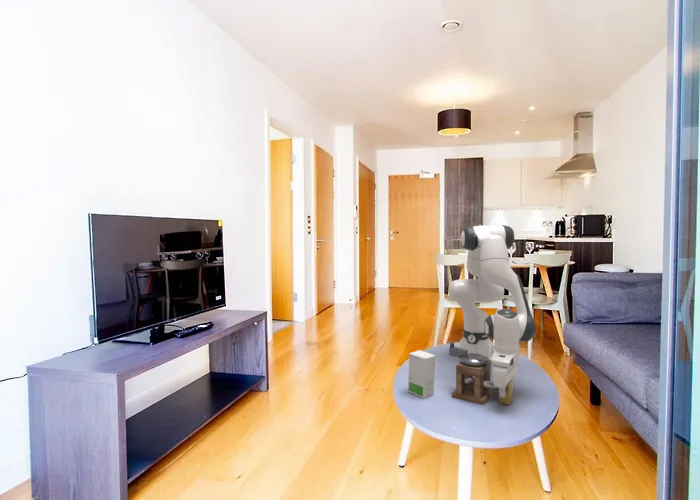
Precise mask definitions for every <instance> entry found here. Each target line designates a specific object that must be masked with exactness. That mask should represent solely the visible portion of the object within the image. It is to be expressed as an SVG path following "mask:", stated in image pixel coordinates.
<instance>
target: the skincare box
mask: <svg viewBox="0 0 700 500" xmlns="http://www.w3.org/2000/svg"><path fill="white" fill-rule="evenodd" d="M435 367H436V355H435V354H432V353H429V352H427V351H423V350H420V349H418V350H415V351H412V352H409V354H408V380H407V381H408V383H407V385H408V386H407V392H408V393H411V394H412V395H415V396H417V397H420V398H422V399H426V398H429V397H430V396H433V395H434V394H435V371H436V368H435Z"/></svg>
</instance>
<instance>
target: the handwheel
mask: <svg viewBox="0 0 700 500" xmlns="http://www.w3.org/2000/svg"><path fill="white" fill-rule="evenodd" d="M448 351H449V353H448V356H451V357H454V358H455V357H456V358H458V363H459V362H460V363H462V364H464V365H468V366H474V367H481V366H486V365H488V364H489V358H488V357H486V356H484V355H481V354H474V353H468V350H466V349H462V348H460V347H456V346H455V342H454V341H451V342H449V349H448Z"/></svg>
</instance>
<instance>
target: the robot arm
mask: <svg viewBox="0 0 700 500" xmlns="http://www.w3.org/2000/svg"><path fill="white" fill-rule="evenodd" d="M460 242H461V245H462V248H464V249H465V250H467V259H466V270H467V271H468V272H469V274H471V275H473V276H474V277H477V278H461V279H455V280H452V281H451V282H450V284H449V286H448V293H449V296H450V298H451V300H452V301H454V302H456V304H458V306H459V307H460V309H461V311H462V315H463V330H462V337H461V339H460V340H459V348H462V349H466V350H468V353H474V354H481V355H484V356H486V357H488V358H489V360H491V365H492V368H491V370H492V372H491V373H492V382H493V384H494V387H496V388H499V391H500V396H501V397H505V396H506V391H505V388H506V386H507V385H508V383H509V382H510V381H511V380H512V379H513V380H514V377H515V376H516V375H517V374H518V366H519V365H518V364H519V362H520V361H521V360H520V353H521V352H520V349H521V348H520V344H519V343H520V342H529V341H531V340H532V339H533V338H535V336H536V333H537V327H536V322H535V319H534V317H533V315H532V312H531V310H530V309H531V308H530V305H529V302H528V299H527V295H526V291H525V288H524V284H523V282H522V279H521V277H520V275H519V274H517V273H515V271H513V268H512V267H511V264H510V257H509V252H508V250H509V249H511V248H512V247H513V246H514V243H515V232H514V229H513V228H512V227H511V226H509V225H503V224H501V225H498V224H497V225H496V224H486V225H485V224H484V225H475V226H474V225H469V226H465V227H464V228H463V229H462V231H461V234H460ZM505 289H506V290H507V291H508V292H510V294H511V295H512V299H513V302H514V306H515V310H516V311H514V310H512V309H506V308H505V309H504V308H503V309H498V310H497V311H496V312H495V314H491V315H488V314H487V312H486V311H484V310H482V309H481V308H479V307H477V306H476V303H479V302H480V303H492V302H496V301H501V299H502V298H503V297H504V294H505ZM492 340H494V343H493V341H492ZM499 391H498V392H499Z"/></svg>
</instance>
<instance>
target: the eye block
mask: <svg viewBox="0 0 700 500" xmlns="http://www.w3.org/2000/svg"><path fill="white" fill-rule="evenodd" d="M491 365H492V364H491V360H489V364H488V365H486V366H481V367H474V366H468V365H464V364H462V363H460V362H459V361H458V363H457V364H456V365H455V389H454V391H452V392H451V398H455V399H458V400H462V401H466V402H470V403H473V404H477V405H481V406H482V405H483V406H484V405H485V404H486V402H488V401H489V399H490V398H491V397H492V396H493V394H495V390H491V389H487V388H483V380H486V381H491V374H492V372H491V370H492V367H491ZM465 376H467V377H472V378H475V382H474V386H473V385H469V384H465Z"/></svg>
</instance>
